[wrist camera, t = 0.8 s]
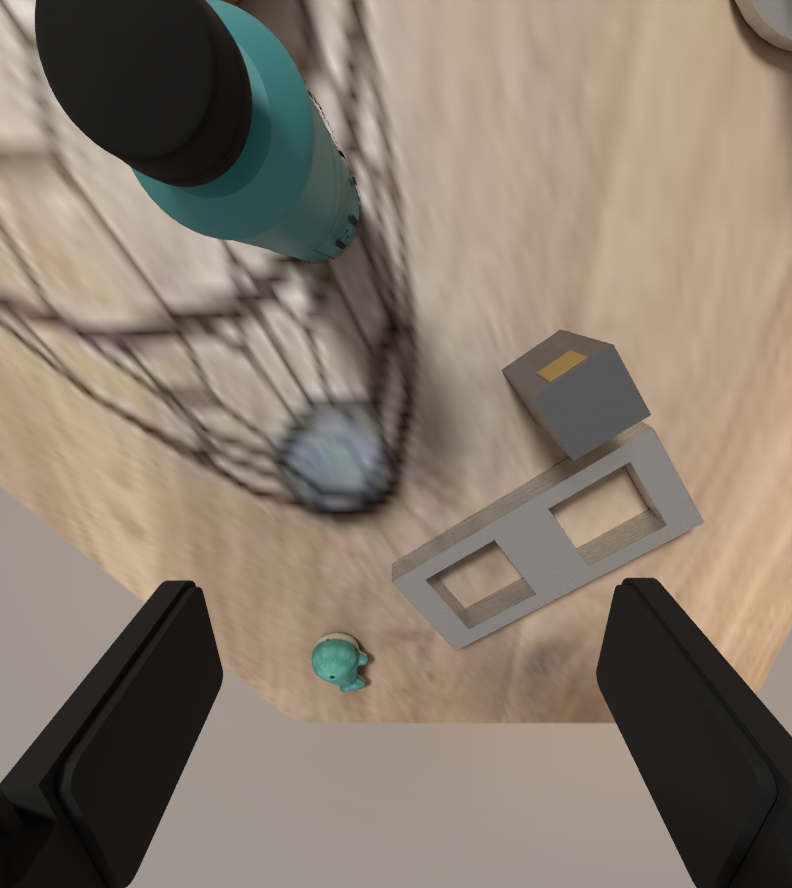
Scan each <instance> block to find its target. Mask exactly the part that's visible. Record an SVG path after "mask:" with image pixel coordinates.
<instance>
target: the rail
mask: <svg viewBox="0 0 792 888" xmlns="http://www.w3.org/2000/svg"><path fill="white" fill-rule="evenodd" d="M622 466H624V467H625V468H626V470H627V472H628V474H629V475H630V477H631V479H632V480H633V482H634V484H635V485H636V487H637V489H638V491H639V492H640V494H641V496H642V497H643V499H644V501H645V502H646V504H647V506H648V508H649V510H648V511H646V512H644V513H642V514H640V515H638V516H636V517H635V518H633V519H631V520H629V521H627V522H625V523H623V524H622V525H620V526H618V527H616V528H614V529H612V530H611V531H609V532H607V533H605V534H603V535H601V536H599V537H598V538H596V539H594V540H592V541H590V542H588V543H586V544H585V545H583V546H581V547H579V548H577V549H576V548H575V546H574V545H573V543H572V542H571V540H570V539H569V537H568V536H567V535H566V533H565V532H564V530H563V529H562V527H561V526H560V524H559V523H558V522H557V520H556V519H555V517H554V516H553V514H552V513H551V511H550V510H549V508H551V507H552V506H554V505H556V504H558V503H559V502H561V501H563V500H565V499H566V498H568V497H570V496H571V495H573V494H575V493H577V492H578V491H580V490H582V489H584V488H585V487H587V486H589V485H591V484H592V483H594V482H596V481H597V480H599V479H601V478H603V477H604V476H606V475H608V474H610V473H611V472H613V471H615V470H617V469H618V468H620V467H622ZM703 523H704V521H703V519H702V517H701V515H700V514H699V512H698V510H697V508H696V506H695V504H694V502H693V501H692V499H691V497H690V495H689V493H688V491H687V489H686V488H685V486H684V484H683V482H682V480H681V478H680V477H679V475H678V473H677V471H676V469H675V467H674V465H673V464H672V462H671V460H670V458H669V456H668V454H667V453H666V451H665V449H664V447H663V445H662V443H661V441H660V440H659V438H658V436H657V434H656V432H655V430H654V429H653V428H652V427H650V426H649V425H647V424H645V423H643V422H642V421H640V422H638V423H637V424H635V425H633V426H632V427H630V428H628V429H627V430H625V431H623V432H622V433H620V434H618V435H617V436H615V437H613V438H611V439H610V440H608V441H606V442H605V443H603V444H601V445H600V446H598V447H596V448H595V449H593V450H591V451H590V452H588V453H586V454H585V455H583V456H581V457H580V458H578V459H576V460H575V461H573V460H572V459H571V458H570V457H569V458H567V459H566V460H564V461H562V462H561V463H559V464H557V465H556V466H554V467H552V468H551V469H549V470H547V471H546V472H544V473H542V474H541V475H539V476H537V477H536V478H534V479H532V480H531V481H529V482H527V483H526V484H524V485H522V486H521V487H519V488H517V489H516V490H514V491H512V492H511V493H509V494H507V495H506V496H504V497H502V498H501V499H499V500H497V501H496V502H494V503H492V504H491V505H489V506H487V507H486V508H484V509H482V510H481V511H479V512H477V513H476V514H474V515H472V516H471V517H469V518H467V519H466V520H464V521H462V522H461V523H459V524H457V525H456V526H454V527H452V528H451V529H449V530H447V531H446V532H444V533H442V534H441V535H439V536H437V537H436V538H434V539H432V540H431V541H429V542H427V543H426V544H424V545H423V546H421V547H419V548H418V549H416V550H414V551H413V552H411V553H409V554H408V555H406V556H404V557H403V558H401V559H399V560H398V561H396V562H394V563H393V564H392V583H393V584H394V585H395V586H396V587H397V588H398V590H399V591H400V592H401V593H402V594H403V595H404V596H405V597H406V598H407V599H408V600H409V601H410V603H411V604H412V605H413V606H414V607H415V608H416V609H417V610H418V611H419V612H420V613H421V615H422V616H423V617H424V618H425V619H426V620H427V621H428V622H429V623H430V624H431V625H432V626H433V628H434V629H435V630H436V631H437V632H438V633H439V634H440V635H441V636H442V637H443V638H444V640H445V641H446V642H447V643H448V644H449V645H450V646H451V647H452V648H453V649H454V650H455V651H457V650H458V649H460V648H462V647H464V646H466V645H468V644H470V643H472V642H474V641H476V640H478V639H480V638H482V637H484V636H486V635H488V634H489V633H491V632H493V631H495V630H497V629H499V628H501V627H503V626H505V625H507V624H509V623H511V622H513V621H515V620H517V619H519V618H521V617H522V616H524V615H526V614H528V613H530V612H532V611H534V610H536V609H538V608H540V607H542V606H544V605H546V604H548V603H550V602H552V601H553V600H555V599H557V598H559V597H561V596H563V595H565V594H567V593H569V592H571V591H573V590H575V589H577V588H579V587H581V586H583V585H585V584H586V583H588V582H590V581H592V580H594V579H596V578H598V577H600V576H602V575H604V574H606V573H608V572H610V571H612V570H614V569H616V568H617V567H619V566H621V565H623V564H625V563H627V562H629V561H631V560H633V559H635V558H637V557H639V556H641V555H643V554H645V553H647V552H649V551H650V550H652V549H654V548H656V547H658V546H660V545H662V544H664V543H666V542H668V541H670V540H672V539H674V538H676V537H678V536H680V535H682V534H683V533H685V532H687V531H689V530H691V529H693V528H695V527H697V526H699V525H701V524H703ZM493 540H495V541H496V543H497V544H498V545H499V546H500V548H501V549H502V550H503V552H504V553H505V554H506V556H507V557H508V558H509V559H510V561H511V562H512V563H513V565H514V566H515V567H516V569H517V570H518V571H519V572H520V574H521V575H522V576H523V578H522V579H520V580H518V581H516V582H514V583H512V584H511V585H509V586H507V587H505V588H503V589H501V590H500V591H498V592H496V593H494V594H492V595H490V596H488V597H487V598H485V599H483V600H481V601H479V602H477V603H475V604H474V605H472V606H470V607H468V608H466V609H464V607H463V606H462V605H461V604H460V603H459V602H458V601H457V599H456V598H455V597H454V596H453V595H452V594H451V592H450V591H449V590H448V589H447V588H446V587H445V585H444V584H443V583H442V582H441V581H440V580H439V579H438V577H437V576H436V575H435V574H436V573H438V572H440V571H441V570H443V569H445V568H446V567H448V566H450V565H452V564H453V563H455V562H457V561H459V560H460V559H462V558H464V557H466V556H467V555H469V554H471V553H473V552H474V551H476V550H478V549H479V548H481V547H483V546H485V545H486V544H488V543H490V542H492V541H493Z"/></svg>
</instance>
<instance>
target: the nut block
mask: <svg viewBox="0 0 792 888" xmlns="http://www.w3.org/2000/svg"><path fill="white" fill-rule="evenodd" d="M502 371H503V373H504V374H505V376H506V377H507V379H508V381H509V382H510V384H511V385H512V387H513V388H514V390H515V391H516V393H517V394H518V396H519V397H520V399H521V401H522V402H523V404H524V405H525V407H526V408H527V410H528V411H529V413H530V414H531V416H532V418H533V419H534V420H535V422H536V423H537V424H538V425H539V426H540V427H541V428H542V429H543V430H544V431H545V432H546V433H547V434H548V435H549V436H550V437H551V438H552V439H553V440H554V441H555V442H556V443H557V444H558V445H559V446H560V447H561V448H562V449H563V450H564V451H565V452H566V453H567V455H568V456H569V457H570V458H571V459H572V460H573V461H575V460H576V459H578V458H580V457H581V456H583V455H585V454H586V453H588V452H590V451H591V450H593V449H595V448H596V447H598V446H600V445H601V444H603V443H605V442H606V441H608V440H610V439H611V438H613V437H615V436H617V435H618V434H620V433H622V432H623V431H625V430H627V429H628V428H630V427H632V426H633V425H635V424H637V423H638V422H640V421H642V420H643V419H645V418H647V417H648V416H650V415H651V414H650V412H649V410H648V408H647V406H646V404H645V403H644V401H643V399H642V397H641V395H640V393H639V391H638V389H637V388H636V386H635V384H634V382H633V380H632V378H631V376H630V375H629V373H628V371H627V369H626V367H625V365H624V363H623V362H622V360H621V358H620V356H619V354H618V352H617V350H616V349H615V347H614V345H613V344H609V343H606V342H602V341H599V340H595V339H592V338H588V337H585V336H581V335H578V334H574V333H571V332H567V331H564V330H559V331H558V332H556V333H555V334H553V335H552V336H550V337H549V338H547V339H546V340H545V341H543V342H542V343H540V344H539V345H537V346H536V347H534V348H533V349H531V350H530V351H529V352H527V353H526V354H524V355H523V356H521V357H520V358H518V359H517V360H515V361H514V362H512V363H511V364H510V365H508V366H507V367H505V368H504V369H502Z"/></svg>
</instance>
